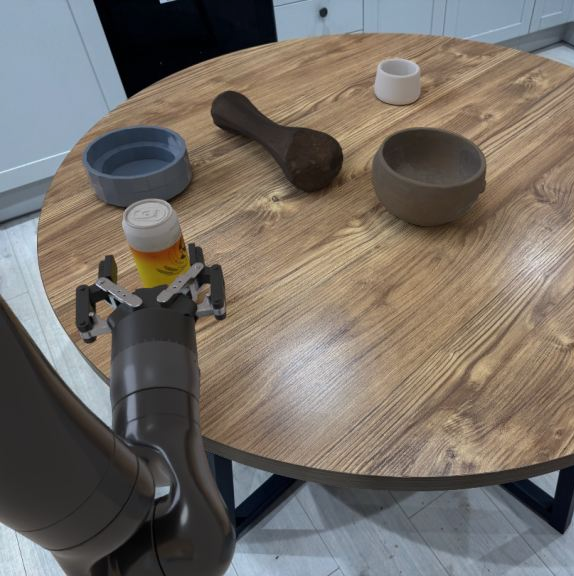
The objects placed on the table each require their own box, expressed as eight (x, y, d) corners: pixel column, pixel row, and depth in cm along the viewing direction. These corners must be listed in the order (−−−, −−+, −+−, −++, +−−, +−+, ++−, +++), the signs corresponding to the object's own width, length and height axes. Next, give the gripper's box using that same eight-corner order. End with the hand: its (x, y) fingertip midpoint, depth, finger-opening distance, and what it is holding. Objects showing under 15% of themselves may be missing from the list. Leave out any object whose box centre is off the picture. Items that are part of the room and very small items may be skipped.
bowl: (492, 194, 96) (504, 142, 89) (454, 256, 85) (464, 201, 78) (399, 165, 101) (404, 113, 94) (351, 219, 89) (352, 165, 82)
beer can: (197, 318, 74) (172, 228, 63) (148, 321, 73) (114, 230, 62) (201, 285, 78) (178, 195, 67) (154, 287, 77) (124, 197, 66)
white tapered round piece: (403, 111, 115) (406, 82, 110) (364, 96, 118) (365, 68, 114) (434, 90, 122) (437, 62, 118) (396, 76, 125) (398, 49, 121)
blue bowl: (80, 210, 88) (66, 177, 84) (110, 155, 99) (100, 123, 94) (181, 212, 89) (173, 179, 84) (201, 157, 99) (194, 126, 95)
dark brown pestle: (338, 198, 96) (242, 149, 112) (355, 137, 93) (254, 95, 108) (289, 194, 88) (192, 141, 103) (307, 127, 85) (204, 82, 100)
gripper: (229, 329, 51) (213, 218, 62) (55, 360, 48) (70, 238, 58) (240, 378, 56) (223, 268, 67) (84, 409, 53) (93, 289, 64)
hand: (152, 254), depth 63 cm, fingers open, 8 cm apart
